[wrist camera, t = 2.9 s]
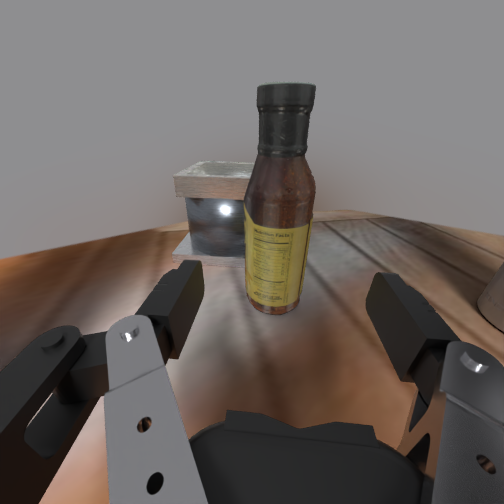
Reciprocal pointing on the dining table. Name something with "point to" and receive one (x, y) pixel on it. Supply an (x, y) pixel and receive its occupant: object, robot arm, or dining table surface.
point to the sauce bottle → (279, 198)
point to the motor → (214, 212)
